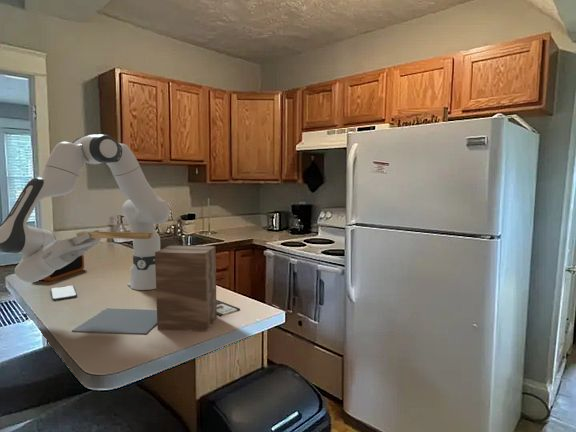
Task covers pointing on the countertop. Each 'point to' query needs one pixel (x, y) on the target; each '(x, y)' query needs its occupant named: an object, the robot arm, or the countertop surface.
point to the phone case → (63, 293)
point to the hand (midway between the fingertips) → (94, 233)
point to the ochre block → (118, 235)
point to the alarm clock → (67, 269)
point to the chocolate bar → (225, 308)
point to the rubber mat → (120, 321)
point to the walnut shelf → (186, 287)
